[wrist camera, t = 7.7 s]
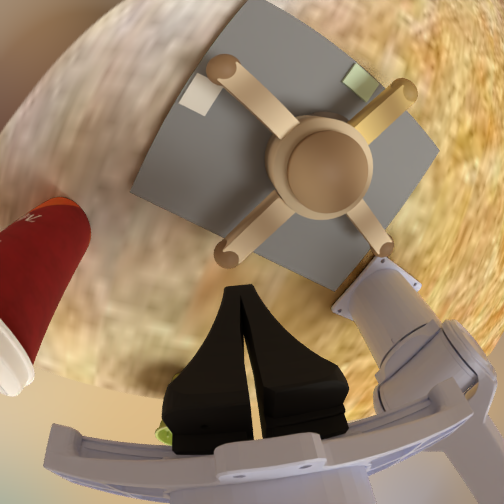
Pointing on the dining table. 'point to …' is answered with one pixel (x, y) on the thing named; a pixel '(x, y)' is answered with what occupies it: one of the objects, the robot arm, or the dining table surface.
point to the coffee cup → (35, 282)
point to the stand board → (257, 136)
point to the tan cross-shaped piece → (309, 161)
